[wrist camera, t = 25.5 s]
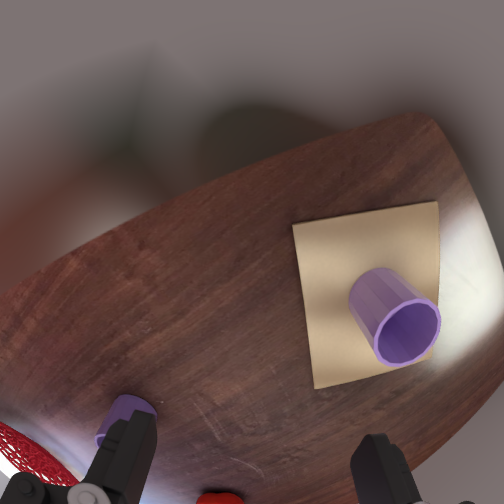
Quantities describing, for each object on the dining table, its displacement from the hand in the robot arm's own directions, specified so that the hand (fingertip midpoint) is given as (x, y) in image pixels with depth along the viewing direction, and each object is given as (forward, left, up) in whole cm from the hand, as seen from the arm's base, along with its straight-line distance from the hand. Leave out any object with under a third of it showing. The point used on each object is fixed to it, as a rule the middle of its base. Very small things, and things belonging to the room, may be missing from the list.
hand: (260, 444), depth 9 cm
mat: (+6, +12, -21) cm, 25 cm away
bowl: (+37, -58, -21) cm, 72 cm away
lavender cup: (+5, +12, -20) cm, 24 cm away
